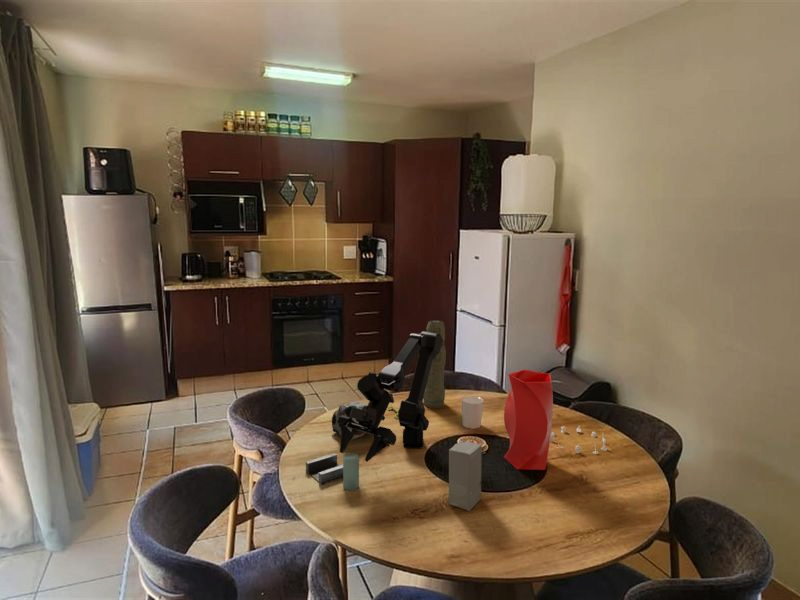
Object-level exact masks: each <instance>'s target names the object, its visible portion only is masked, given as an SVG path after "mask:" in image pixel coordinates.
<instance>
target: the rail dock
mask: <svg viewBox="0 0 800 600" xmlns="http://www.w3.org/2000/svg"><path fill="white" fill-rule="evenodd" d="M305 472H306V473H307V474H308V475H310V476H311V477H312V478H313V479H314V480H315V481H317V482H318V483H319V484H320V485H326V484H328V483H331V482H333V481H337V480H340V479H343V464H339V463H338V454H337V453H336V452H334V453H331V454H327V455H323V456H320V457H318V458H315V459H311V460H307V461H305Z"/></svg>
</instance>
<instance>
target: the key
mask: <svg viewBox="0 0 800 600" xmlns="http://www.w3.org/2000/svg"><path fill="white" fill-rule="evenodd" d="M387 409H392V410H393V411H394V412H396V413H395V414H394V419H395V420H398V421H399V419H398V411H399V409H398V408H397V407H395V406H394V405H393V404H389V405H388V407H387Z"/></svg>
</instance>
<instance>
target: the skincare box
mask: <svg viewBox="0 0 800 600" xmlns="http://www.w3.org/2000/svg"><path fill="white" fill-rule="evenodd" d="M482 446H483V445H482V444H481V443H477V442H476V443H475V442H471V441H467V440H463V439H462V440H460V441H459V442H457V443H455V444H454V445H453V446H452V447H451V448H449V449H448V504H449V505H450V506H453V507H456V508H460V509H463V510H466V511H468V512H471V510H472V509H473V508H474V507H475V506H476V505H477V503H478V502H479V501H480V500H481V498H482V450H483V449H482V448H483V447H482Z"/></svg>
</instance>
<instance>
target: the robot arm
mask: <svg viewBox="0 0 800 600" xmlns="http://www.w3.org/2000/svg"><path fill="white" fill-rule="evenodd" d="M406 341H407V342H406V343H405V344H404V345H403V347H402V349H401V350H400V351H399V353H398V354H397V356H396V357H395V358H394V359H393V362H391V363H390V364H387V365H386V366H384V367H383V368H382V370H380V372H379V373H378V374H376V373H375V372H372V371H371V372H368V374H367V375H366V374H365V375H364V376H362V377H361V378H360V379H359V380H358V381H357V390H358V391H359V392H360V393H361V394H362V396H363V397H364V398H365V399H366V400H368V403H367V406H365V405H364V406H363V408H362V409H359V408H355V407H352V410H351V413H350V417H347V416H344V415H341V416H339V417H338V419H337V421H336V423H337V424H338V425H339V427H340V428H341V432H342V435H341V438H340V439H341V440H340V446H339V453H340V454H343V453H344V452H345V450H346V448H347V447H348V446H349V444H350V443H351V441H352V438H353V436H354V434H353V432H355V431H356V430H358V431H362V432H365V434H368V435H372V436H373V437H372V442H371V446H370V447H369V449H368V452H367V454H366V455H365V458H364V461H365V462H366V463H368V462H369V461H370V460H371V459H372V458H374V457H375V456H376V455H378V453H380V452H381V451H383V450H384V449H385V448H390V446H395V444H396V442H397V435H396V434H395V433H394V431H393V430H392V429H391V428H388V427H384V426H381V425H380V424H381V422H382V421H385V419H386V417H385V414H386V412H387V409H388V408H387V407H388V406H390V403H391V404H394V403H395V399H394V395H393V393H396V392H399V391H400V390H401V389H402V388H403V384H404V382H406V373H407V371H408V369H409V367H410V365H411V364H412V363H413V361H414V360H415V358H416V356H417V355H418V358H417V361H416V364H415V369H414V374H413V377H412V381H411V385H410V390H409V393H408V397H407V398H405V400H402V401H401V402H400V406H399V409H398V410H399V411H398V416H397V417H398V419H399V420H398V423H399V426H400V427H404V428H402V444H403V448H409V449H410V448H411V449H413V448H414V449H423V448H424V432H425V431H427V429H428V428H429V425H430V421H429V419H428V418H427V417H426V416H425V413H426V409H425V407H426V406H424V404H423V402H424V399H423V397H424V393H425V389H426V385H427V381H428V377H429V373H430V369H431V365H432V361H433V359H434V358H435V357H436V356H437V354H438V353H439V352H440V349H441V346H442V344H443V338H442V337H441V335H440V334H438V333H432V332H426V331H425V330H423V331H421V332H420V333H416V332H415V333H410V334H409V336H408V339H407V340H406ZM388 391H390V392H393V393H389V392H388ZM352 418H355V420H356V421H357V422H359V423H356V422H355V421H354V420H353V419H352ZM362 428H365V429H362ZM369 430H370V431H369Z"/></svg>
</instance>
